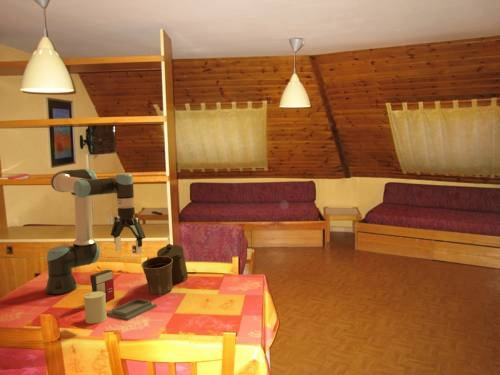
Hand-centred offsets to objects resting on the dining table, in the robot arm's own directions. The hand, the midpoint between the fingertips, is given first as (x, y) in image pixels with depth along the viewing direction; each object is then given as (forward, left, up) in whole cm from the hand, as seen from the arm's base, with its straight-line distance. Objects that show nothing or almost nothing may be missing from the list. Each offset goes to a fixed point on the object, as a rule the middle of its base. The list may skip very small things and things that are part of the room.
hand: (128, 252), depth 194 cm
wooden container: (-10, +42, -26) cm, 51 cm away
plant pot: (-6, +26, -28) cm, 38 cm away
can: (-7, -15, -28) cm, 33 cm away
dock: (0, 0, -28) cm, 28 cm away
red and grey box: (-22, +2, -28) cm, 36 cm away
